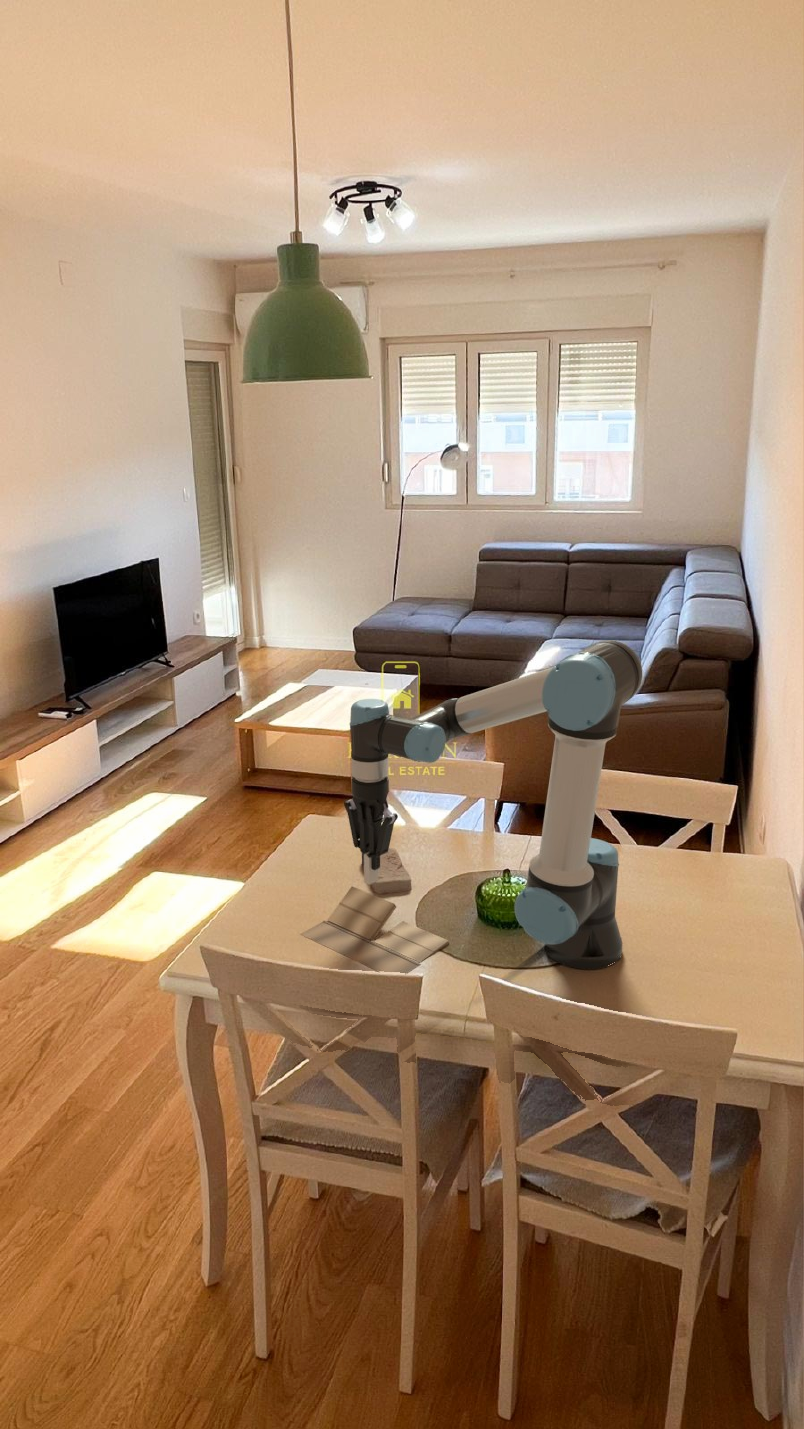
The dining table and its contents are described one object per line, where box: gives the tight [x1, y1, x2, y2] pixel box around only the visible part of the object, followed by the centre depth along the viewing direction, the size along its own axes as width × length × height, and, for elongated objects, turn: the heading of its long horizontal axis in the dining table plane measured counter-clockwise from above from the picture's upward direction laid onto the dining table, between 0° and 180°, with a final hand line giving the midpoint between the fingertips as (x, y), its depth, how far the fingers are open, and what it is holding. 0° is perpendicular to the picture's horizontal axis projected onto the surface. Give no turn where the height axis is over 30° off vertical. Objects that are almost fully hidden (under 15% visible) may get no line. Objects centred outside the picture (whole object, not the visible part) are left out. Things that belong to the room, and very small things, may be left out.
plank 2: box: [373, 920, 450, 964], centre depth 198 cm, size 12×9×1 cm
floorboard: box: [299, 920, 422, 974], centre depth 196 cm, size 26×7×2 cm, turn 49°
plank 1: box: [327, 885, 397, 941], centre depth 205 cm, size 12×9×1 cm
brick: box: [362, 847, 412, 895], centre depth 226 cm, size 17×8×5 cm, turn 14°
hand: (371, 881), depth 206 cm, fingers closed
